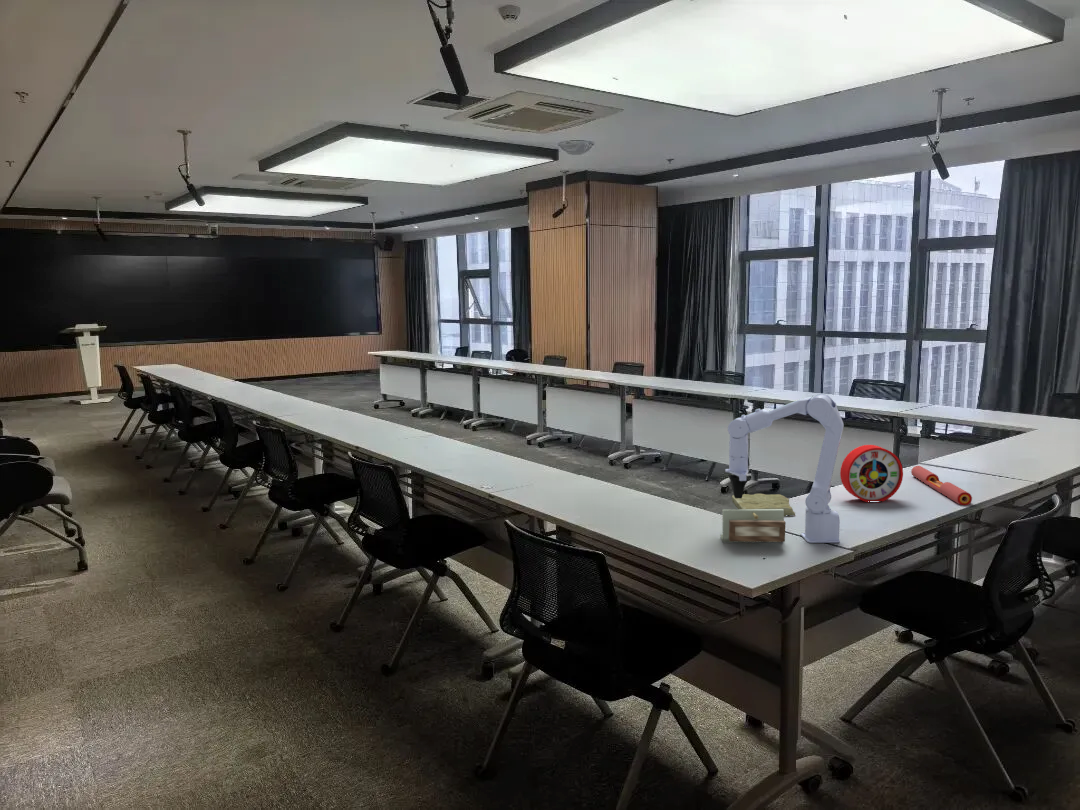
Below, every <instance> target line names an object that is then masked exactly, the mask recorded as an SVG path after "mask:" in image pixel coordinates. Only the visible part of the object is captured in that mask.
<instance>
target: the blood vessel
mask: <svg viewBox="0 0 1080 810" xmlns="http://www.w3.org/2000/svg"><path fill="white" fill-rule="evenodd" d="M910 473H911V475H913V476H915V477H916V478H915V477H914V478H915V479H917V478H918V479H919V480H918V479H917V480H918V481H920V480H921V481H920V482H921V483H923V482H924V484H925V485H927V486H928V485H929V486H928V487H930V488H931V489H933V490H935V491H936V492H939V493H940V494H941V493H942V494H941V495H943V496H945V497H946V496H947V497H946V498H948V499H950V500H951V501H953V502H955V503H956V504H958V505H960V506H968V505H970V504H971V503H972V502H973V497H972V495H971V493H969V492H968V491H966V490H965V489H963V488H960V487H959V486H957V485H955V484H953V483H952V482H949V481H947V482H946V481H945V482H942V481H940V478H939V476H938V475H937V474H936V473H934V472H932V471H930V470H928V469H926V468H925V467H923V466H921V465H916V466H914V467H912V468H911V472H910ZM913 476H912V477H913Z"/></svg>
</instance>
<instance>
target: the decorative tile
mask: <svg viewBox="0 0 1080 810" xmlns="http://www.w3.org/2000/svg"><path fill="white" fill-rule="evenodd" d="M731 502H732V503H733V505H734V506H735V507H736V508H737V509H783V510H784V517H787V516H786V515H795V516H796V512H795V511H794V509H793V506H790V498H789V497H788V498H787V497H786V496H784V495H782V494H778V493H777V494H764V493H754V494H748V493H746V494H745V493H743V495H742V498H735V497H734V494H733V495H731Z"/></svg>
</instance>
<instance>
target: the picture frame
mask: <svg viewBox="0 0 1080 810" xmlns="http://www.w3.org/2000/svg"><path fill="white" fill-rule="evenodd" d="M729 541H754V542H753V543H785V542H786V521H785V520H784V521H781V520H729Z"/></svg>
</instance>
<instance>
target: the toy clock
mask: <svg viewBox="0 0 1080 810" xmlns="http://www.w3.org/2000/svg"><path fill="white" fill-rule="evenodd" d="M839 471H840V473H839V474H840V475H839V476H840V481H841V483H842V486H843V487H844V489H845V490H846V491H847V492H848V493H849V494H850V495H852V496H853V497H855V498H857V499H858V500H860V501H863V502H866V503H869V502H870V501H882V502H885V501H886V500H887V501H888V500H889V499H890V498H892V497H893V496H894V495H895V494H896V493H897V492H898V490H899V489H900V487H901V485H902V482H903V478H904V469H903V465H902V463H901V460H900V459H899V457H898V456H897V455H896V454H895V453H893V452H892V451H891V450H889V449H886V448H883V447H881V446H878V445H875V444H864V445H863V444H862V445H860V446H857V447H855V448H854V449H852V450H851V451H850V452H849V453H847V455H846V456H845V457H844V458H843V461H842V462H841V466H840V470H839ZM868 501H869V502H868Z"/></svg>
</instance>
